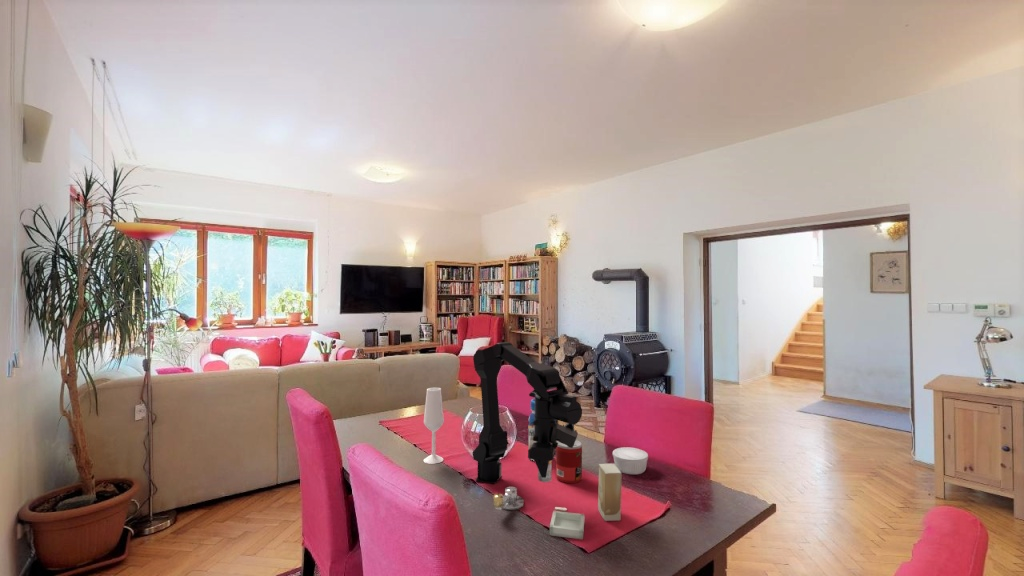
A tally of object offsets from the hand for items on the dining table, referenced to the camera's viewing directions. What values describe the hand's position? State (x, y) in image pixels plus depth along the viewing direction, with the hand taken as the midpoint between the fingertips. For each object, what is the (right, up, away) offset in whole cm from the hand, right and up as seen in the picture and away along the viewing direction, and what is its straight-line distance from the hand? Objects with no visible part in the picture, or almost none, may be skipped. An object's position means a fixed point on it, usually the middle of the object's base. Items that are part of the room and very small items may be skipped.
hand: (544, 474), depth 116 cm
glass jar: (0, -1, 0) cm, 1 cm away
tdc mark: (+4, -9, -1) cm, 10 cm away
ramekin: (+30, -10, +26) cm, 41 cm away
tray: (+5, -9, -10) cm, 14 cm away
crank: (-11, -8, -2) cm, 13 cm away
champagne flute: (-35, -9, +32) cm, 49 cm away
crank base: (-9, -9, +2) cm, 13 cm away
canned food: (+9, -9, +19) cm, 23 cm away
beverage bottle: (+1, -9, +35) cm, 36 cm away
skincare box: (+16, -9, -3) cm, 19 cm away
